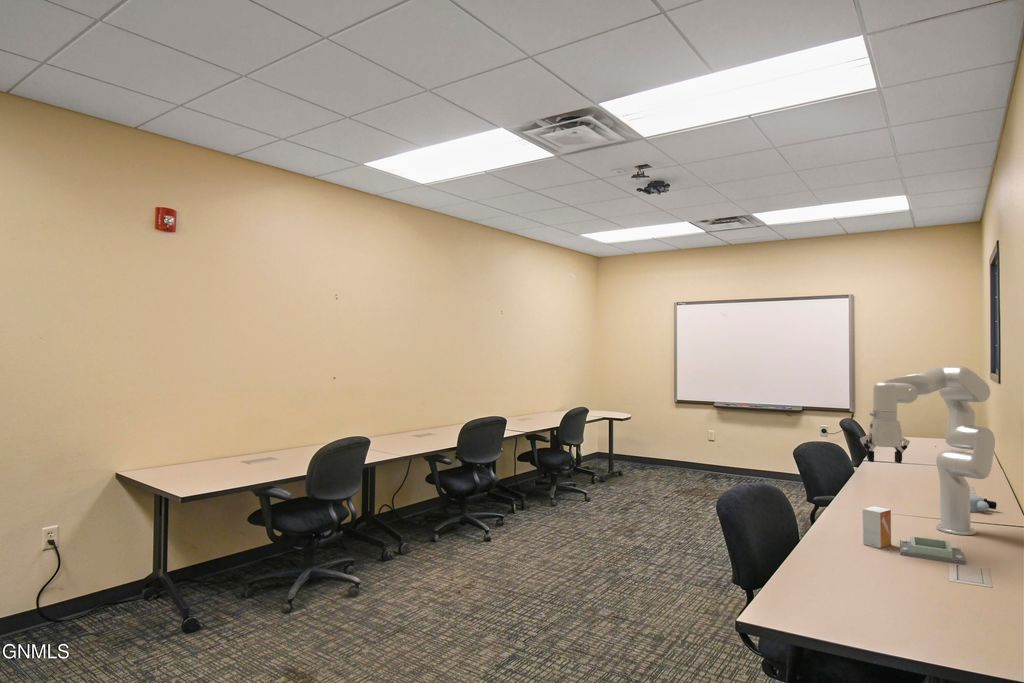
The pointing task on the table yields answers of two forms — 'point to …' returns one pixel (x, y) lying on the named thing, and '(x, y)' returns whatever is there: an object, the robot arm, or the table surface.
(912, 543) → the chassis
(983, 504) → the figurine
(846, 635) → the table surface
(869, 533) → the small box
